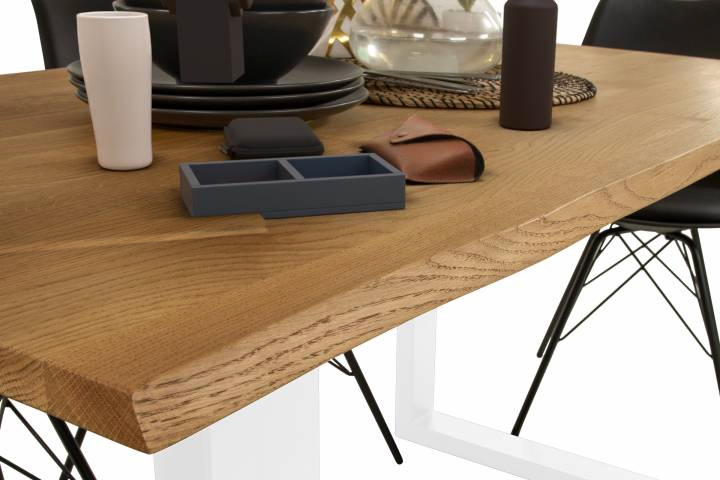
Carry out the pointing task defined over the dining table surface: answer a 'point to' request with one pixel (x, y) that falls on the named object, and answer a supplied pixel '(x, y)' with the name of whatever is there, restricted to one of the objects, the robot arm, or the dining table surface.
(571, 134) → the dining table surface
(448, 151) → the sunglasses case
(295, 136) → the carrying case
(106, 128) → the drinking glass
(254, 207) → the tray
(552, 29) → the bottle
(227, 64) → the black rectangular block
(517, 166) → the dining table surface
